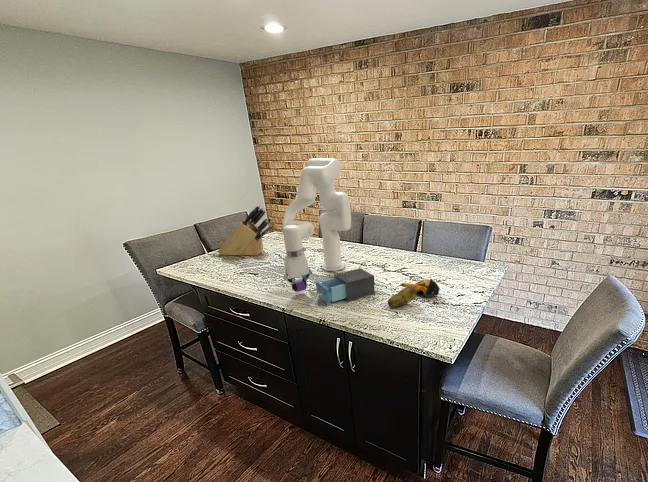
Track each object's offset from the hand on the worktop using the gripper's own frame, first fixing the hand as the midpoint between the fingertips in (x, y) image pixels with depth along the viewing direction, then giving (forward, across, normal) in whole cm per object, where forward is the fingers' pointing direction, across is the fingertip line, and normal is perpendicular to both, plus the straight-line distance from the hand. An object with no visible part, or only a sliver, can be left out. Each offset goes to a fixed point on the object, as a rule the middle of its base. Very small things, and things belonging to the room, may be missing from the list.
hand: (299, 288), depth 159 cm
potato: (+3, -32, +38) cm, 50 cm away
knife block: (+4, +3, -82) cm, 83 cm away
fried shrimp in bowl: (+3, -46, +34) cm, 57 cm away
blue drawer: (+2, -9, +14) cm, 17 cm away
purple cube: (0, 0, 0) cm, 0 cm away
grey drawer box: (+3, -22, +14) cm, 26 cm away
